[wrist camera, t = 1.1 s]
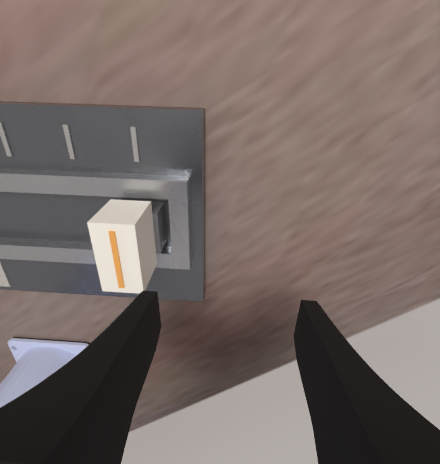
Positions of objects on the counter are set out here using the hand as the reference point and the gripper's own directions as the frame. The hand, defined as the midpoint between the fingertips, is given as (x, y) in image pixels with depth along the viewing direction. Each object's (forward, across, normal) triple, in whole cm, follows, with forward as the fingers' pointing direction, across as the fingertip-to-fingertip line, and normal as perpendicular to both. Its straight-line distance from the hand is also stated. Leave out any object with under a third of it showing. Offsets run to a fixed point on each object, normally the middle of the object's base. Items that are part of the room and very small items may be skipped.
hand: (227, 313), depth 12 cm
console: (+9, +13, 0) cm, 16 cm away
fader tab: (+8, +6, 0) cm, 10 cm away
